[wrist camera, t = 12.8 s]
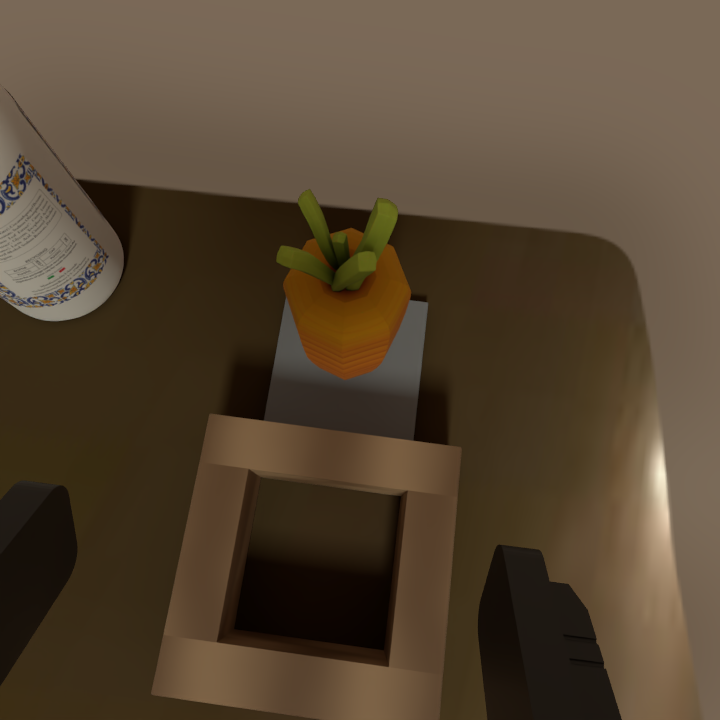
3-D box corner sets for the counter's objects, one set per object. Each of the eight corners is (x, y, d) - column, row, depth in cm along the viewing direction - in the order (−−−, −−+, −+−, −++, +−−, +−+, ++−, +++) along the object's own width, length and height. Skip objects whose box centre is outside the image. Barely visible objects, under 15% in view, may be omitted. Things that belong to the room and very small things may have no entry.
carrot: (298, 405, 32) (256, 293, 18) (306, 318, 33) (274, 149, 19) (390, 411, 32) (424, 304, 18) (395, 324, 33) (430, 160, 19)
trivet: (264, 424, 32) (263, 422, 32) (289, 288, 34) (288, 284, 34) (412, 444, 32) (413, 442, 31) (426, 306, 34) (428, 302, 34)
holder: (177, 673, 29) (151, 694, 25) (226, 428, 32) (209, 413, 28) (426, 709, 28) (437, 736, 24) (448, 458, 32) (461, 447, 28)
